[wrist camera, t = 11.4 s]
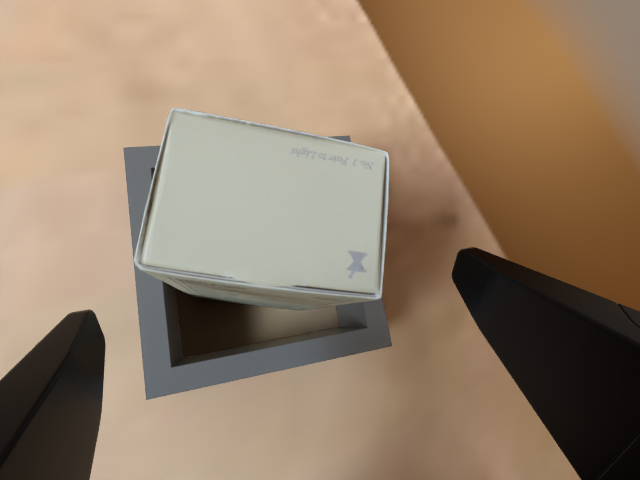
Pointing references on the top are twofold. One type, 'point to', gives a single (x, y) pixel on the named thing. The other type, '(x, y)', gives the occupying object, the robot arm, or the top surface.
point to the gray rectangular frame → (236, 363)
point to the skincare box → (265, 214)
